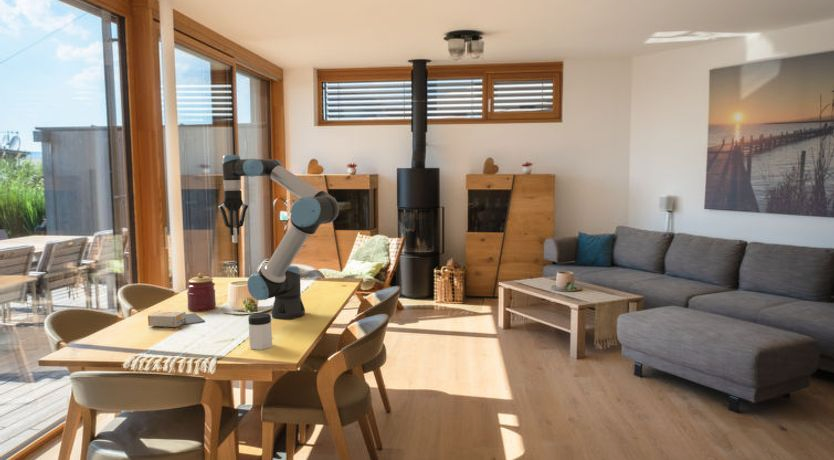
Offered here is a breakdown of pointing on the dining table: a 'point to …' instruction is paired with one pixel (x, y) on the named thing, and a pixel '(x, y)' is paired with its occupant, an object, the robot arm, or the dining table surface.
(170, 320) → the supplement box
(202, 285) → the canister
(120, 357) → the dining table surface
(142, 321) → the dining table surface
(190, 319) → the mat
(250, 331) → the jar
